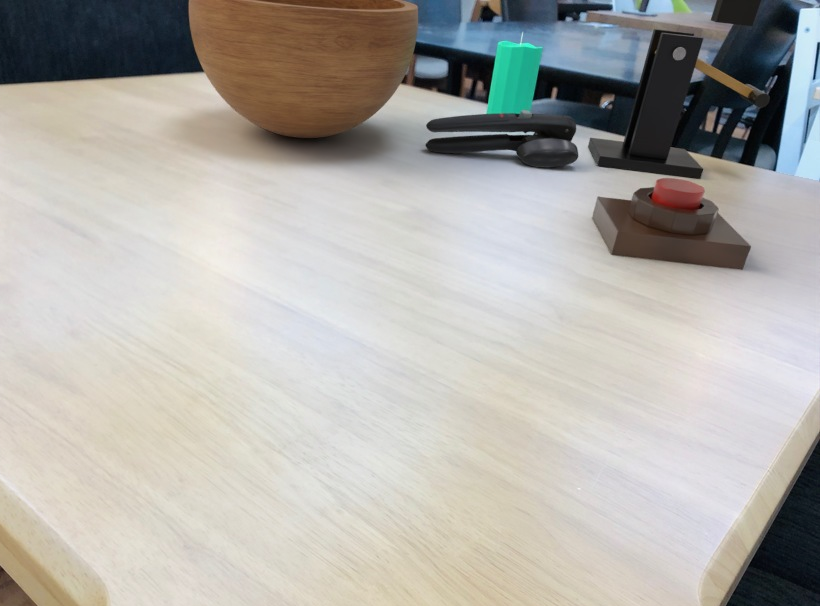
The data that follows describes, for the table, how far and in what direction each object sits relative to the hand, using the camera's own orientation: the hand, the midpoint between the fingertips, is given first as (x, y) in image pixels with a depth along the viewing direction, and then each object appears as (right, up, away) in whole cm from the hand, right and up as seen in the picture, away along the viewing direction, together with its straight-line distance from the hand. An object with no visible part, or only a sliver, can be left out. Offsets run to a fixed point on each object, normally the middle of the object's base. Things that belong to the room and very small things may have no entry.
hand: (731, 22), depth 54 cm
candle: (-9, +5, +44) cm, 45 cm away
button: (-1, -13, +7) cm, 15 cm away
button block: (-1, -16, +9) cm, 18 cm away
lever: (+11, +6, +28) cm, 30 cm away
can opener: (-13, -3, +29) cm, 32 cm away
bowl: (-36, 0, +30) cm, 47 cm away
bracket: (+6, -2, +33) cm, 34 cm away
